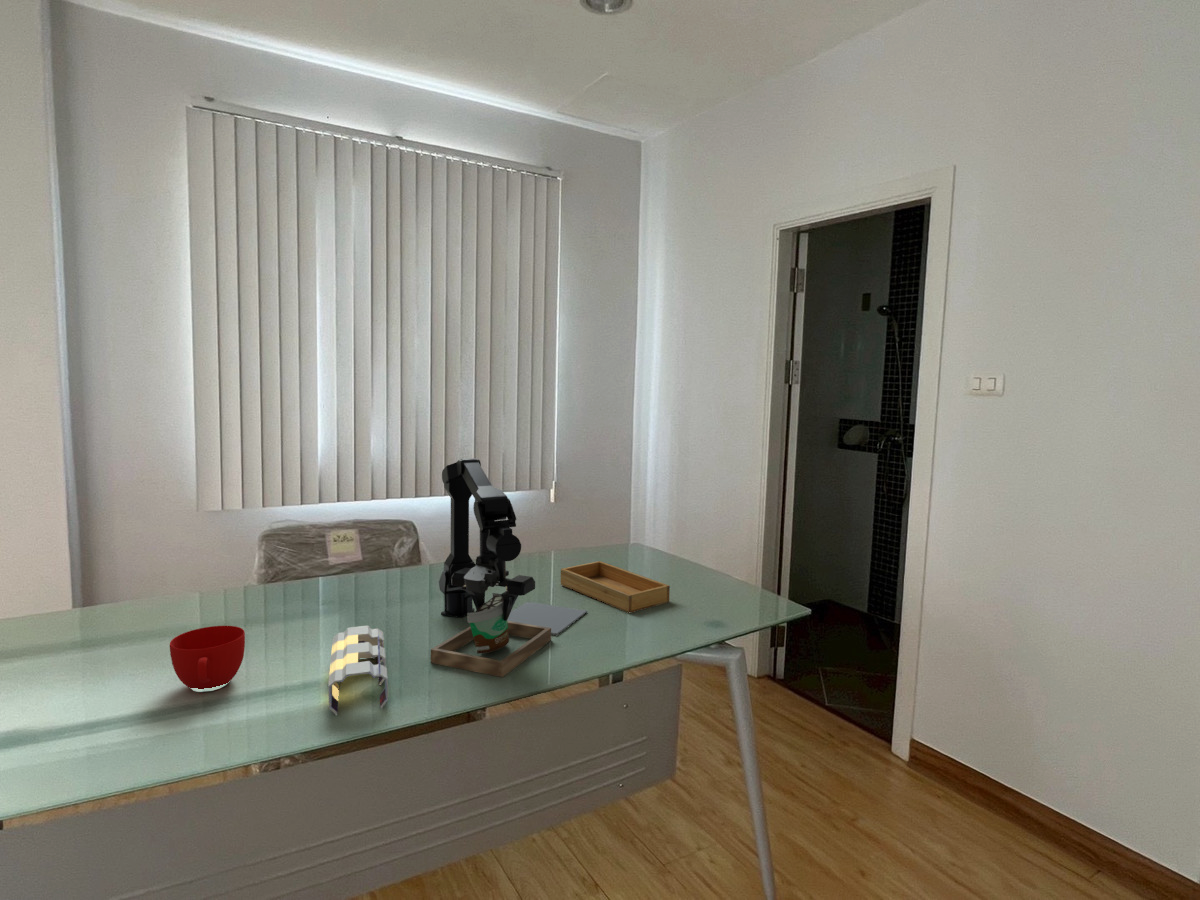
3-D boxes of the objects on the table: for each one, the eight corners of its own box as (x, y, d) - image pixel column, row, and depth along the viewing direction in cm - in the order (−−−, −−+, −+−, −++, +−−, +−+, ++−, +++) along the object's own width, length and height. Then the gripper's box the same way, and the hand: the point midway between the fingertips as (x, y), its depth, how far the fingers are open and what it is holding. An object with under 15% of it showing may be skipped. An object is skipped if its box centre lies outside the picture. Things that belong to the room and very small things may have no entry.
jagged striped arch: (388, 709, 127) (386, 641, 126) (329, 718, 124) (326, 648, 123) (383, 658, 151) (382, 600, 149) (333, 664, 147) (331, 605, 146)
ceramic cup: (162, 715, 124) (159, 662, 123) (178, 677, 139) (175, 630, 138) (242, 702, 129) (240, 651, 128) (249, 667, 145) (247, 621, 144)
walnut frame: (430, 662, 148) (430, 649, 147) (485, 629, 168) (485, 617, 168) (502, 677, 141) (502, 663, 140) (551, 640, 161) (551, 628, 161)
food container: (498, 657, 148) (490, 614, 146) (473, 656, 150) (465, 614, 148) (523, 632, 159) (516, 592, 158) (500, 632, 161) (493, 592, 160)
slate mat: (492, 625, 171) (492, 622, 170) (527, 603, 187) (527, 601, 187) (556, 635, 164) (556, 633, 164) (587, 612, 180) (587, 610, 180)
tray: (669, 603, 189) (669, 583, 189) (628, 615, 180) (629, 594, 179) (599, 578, 213) (599, 560, 212) (560, 587, 204) (560, 568, 203)
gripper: (436, 554, 148) (437, 623, 150) (510, 564, 141) (511, 637, 142) (465, 543, 158) (465, 608, 160) (536, 551, 151) (536, 619, 153)
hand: (493, 618), depth 153 cm, fingers closed on food container, 6 cm apart
